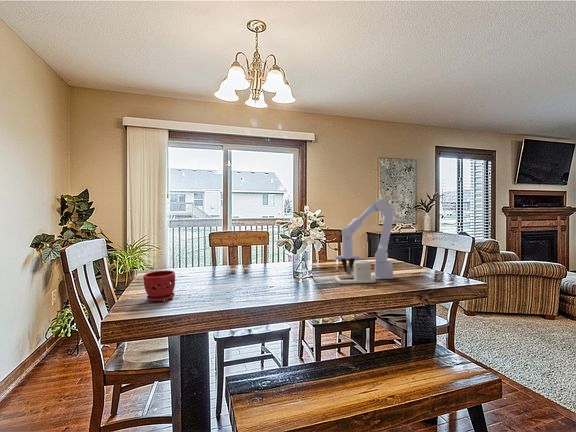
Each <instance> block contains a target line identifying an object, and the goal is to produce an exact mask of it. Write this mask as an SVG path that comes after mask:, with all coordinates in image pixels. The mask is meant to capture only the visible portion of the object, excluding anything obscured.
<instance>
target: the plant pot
mask: <svg viewBox="0 0 576 432" xmlns="http://www.w3.org/2000/svg"><path fill="white" fill-rule="evenodd" d="M142 277H143V284H144V285H143V287H144V289H145V290H144V291H145V293H146V294H147V297H146V300H147V301H149V302H151V301H163V302H165V301H164V300H167V301H169V300H168V299H170V300H171V298H172V299H173V298H174V297H175V292H174V289H175V286H176V272H175V271H174V270H167V269H166V270H156V271H150V272H148V273H145V274H144V275H143V276H142Z"/></svg>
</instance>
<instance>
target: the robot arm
mask: <svg viewBox="0 0 576 432" xmlns="http://www.w3.org/2000/svg"><path fill="white" fill-rule="evenodd" d="M377 211H379V212H381V214H382V216H384V219H383V224H382V230H381V234H380V239H379V243H378V247H377V251H376V252H375V254H374V259H375V260H374V275H373V274H371V277H372V278H374V279H376V280H388V279H389V280H391V279H393V280H394V265H393V264H394V263H393V262H392V261H388V259H387V258H388V257H389V253H388V249H389V248H388V245H389V241H390V236H391V232H392V227H393V222H394V217H395V213H394V211H393V208H392V206H391V204H390V203H389V201H388V200H387V199H384V198H378V199H376V200H375V202H373V203H372V204H370V205H369V206H368V207H367V208H366V209H365V211H364V212H363V213H362V214H360V216H359V217H355V218H352V219H351V222H349V223H348V224H347V225H346V226H345V227H344V228H343V229H342V231H341V236H342V255H334V260H335V261H339V260H340V261H341V264H342V266H343V270H344V272H345V273H346V272H347V268H346V267H347V262H348V267H351V270H352V268H353V267H354V262H356V260H361V255H357V254H356V255H353V254H354V253H353V251H354V250H353V236H354V234H355V233H356V232H357V231H358V230H359V229H361V227H362V226H363V222H364V221H365V220H366V219H367V218H369V216H370V215H371V214H373V213H375V212H377Z"/></svg>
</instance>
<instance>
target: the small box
mask: <svg viewBox="0 0 576 432" xmlns="http://www.w3.org/2000/svg"><path fill="white" fill-rule="evenodd" d="M353 275H354V278H353V280H366V279H371V277H372V262H370V261H368V260H361V261H359V260H358V261H355V262H354V264H353Z"/></svg>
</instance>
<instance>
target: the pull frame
mask: <svg viewBox="0 0 576 432" xmlns="http://www.w3.org/2000/svg"><path fill="white" fill-rule="evenodd" d="M346 268H347V272H345V274H340V275H339V274H337V275H336V274H335V275H333V278H334V280H335V282H337V283H338V284H363V283H365V284H366V283H367V284H368V283H372V284H373V283H376V282H377V279H376V278H375V277H373V276H371V279H366V280H354V274H352V269H351V267H349V266H346ZM342 279H343V280H342ZM344 279H345V280H344Z"/></svg>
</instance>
